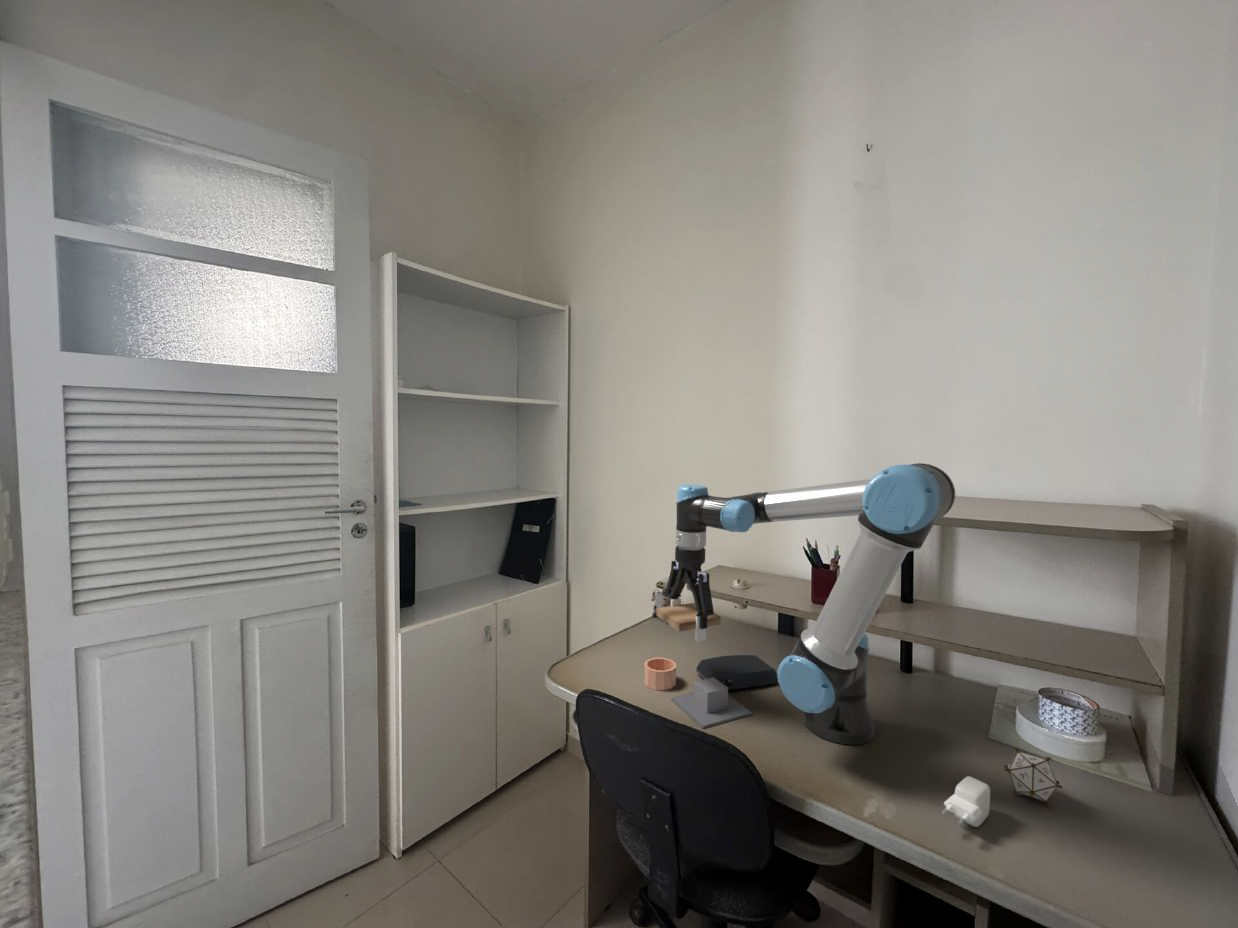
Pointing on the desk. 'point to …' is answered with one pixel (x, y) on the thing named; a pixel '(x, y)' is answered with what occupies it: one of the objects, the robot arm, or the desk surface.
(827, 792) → the desk surface
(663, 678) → the bowl
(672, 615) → the lid
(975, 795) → the power adapter
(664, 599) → the figurine
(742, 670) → the external hard drive
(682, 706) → the cube on square base
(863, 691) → the robot arm
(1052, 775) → the game die
